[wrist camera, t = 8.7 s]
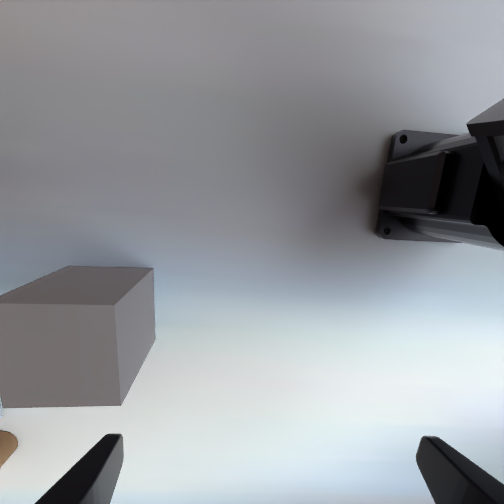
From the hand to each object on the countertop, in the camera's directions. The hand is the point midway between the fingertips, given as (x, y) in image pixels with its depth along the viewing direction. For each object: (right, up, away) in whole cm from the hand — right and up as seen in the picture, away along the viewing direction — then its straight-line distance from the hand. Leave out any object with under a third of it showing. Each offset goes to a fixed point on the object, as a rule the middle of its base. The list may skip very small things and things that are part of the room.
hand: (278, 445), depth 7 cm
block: (-10, +2, +9) cm, 13 cm away
